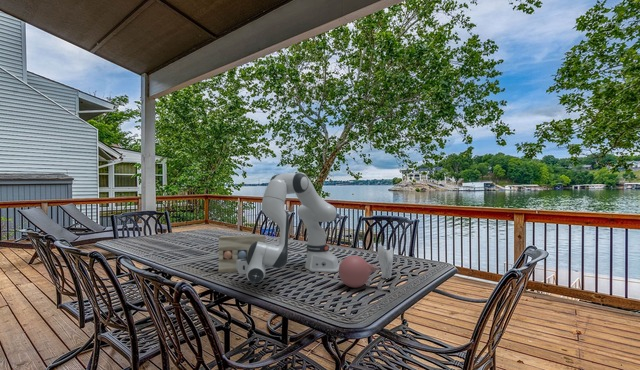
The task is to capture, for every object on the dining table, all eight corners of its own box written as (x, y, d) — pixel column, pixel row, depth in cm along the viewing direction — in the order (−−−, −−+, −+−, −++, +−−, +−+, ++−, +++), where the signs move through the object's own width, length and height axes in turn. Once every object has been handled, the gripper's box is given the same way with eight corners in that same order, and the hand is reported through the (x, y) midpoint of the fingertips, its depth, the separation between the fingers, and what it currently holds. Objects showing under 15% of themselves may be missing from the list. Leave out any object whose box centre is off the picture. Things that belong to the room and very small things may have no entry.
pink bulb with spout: (380, 293, 141) (380, 260, 141) (337, 291, 144) (337, 258, 144) (378, 283, 156) (378, 253, 156) (339, 281, 159) (340, 251, 159)
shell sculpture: (395, 276, 167) (395, 244, 167) (392, 281, 159) (392, 246, 159) (380, 274, 170) (380, 242, 170) (376, 279, 163) (376, 245, 163)
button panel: (221, 266, 185) (221, 234, 185) (264, 264, 190) (264, 232, 190) (218, 272, 172) (218, 237, 172) (265, 270, 177) (265, 236, 177)
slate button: (238, 257, 176) (238, 250, 176) (246, 257, 177) (246, 249, 177) (237, 259, 172) (238, 251, 172) (245, 259, 173) (246, 251, 173)
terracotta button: (224, 257, 176) (224, 250, 176) (232, 257, 177) (232, 249, 177) (223, 259, 172) (223, 251, 172) (231, 259, 173) (231, 251, 173)
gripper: (277, 259, 152) (275, 252, 165) (235, 260, 148) (237, 254, 161) (277, 271, 152) (275, 264, 165) (235, 273, 148) (237, 266, 161)
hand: (256, 259), depth 163 cm, fingers closed
